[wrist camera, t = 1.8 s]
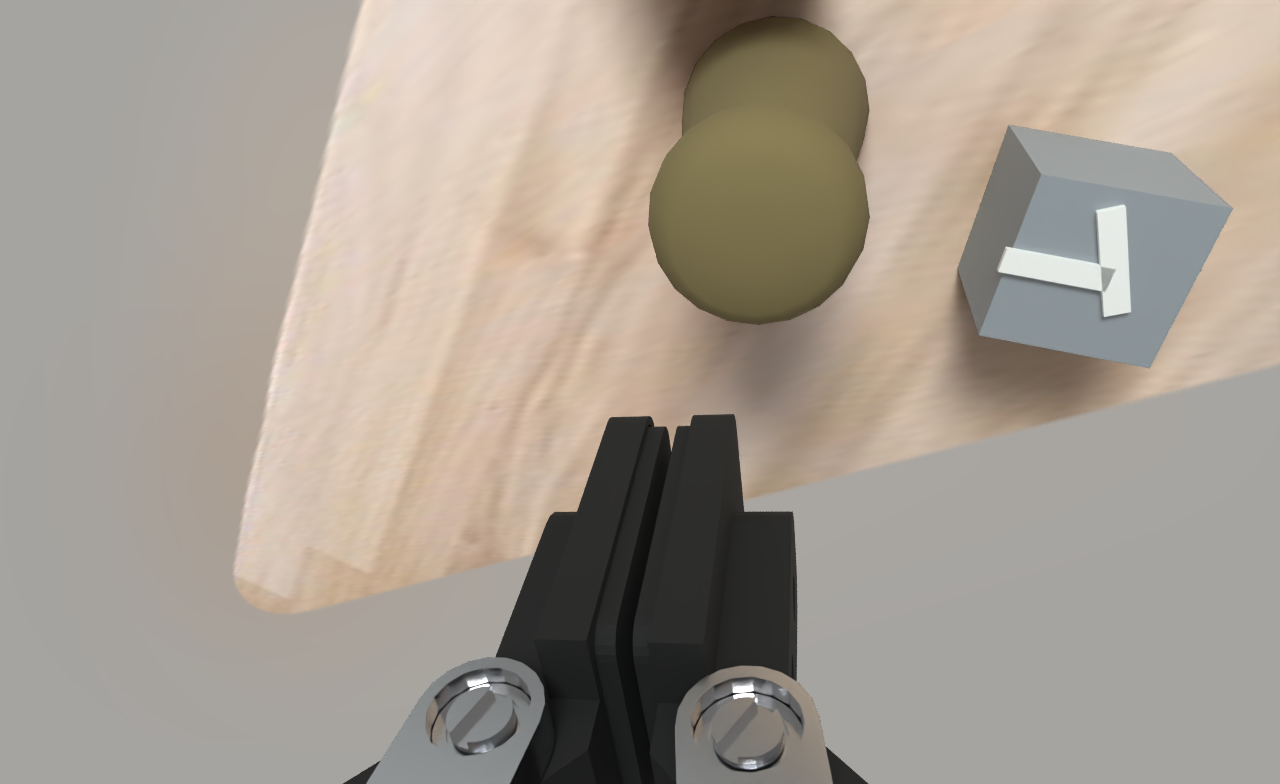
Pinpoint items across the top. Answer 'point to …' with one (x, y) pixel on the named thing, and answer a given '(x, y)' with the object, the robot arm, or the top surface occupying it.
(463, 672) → the robot arm
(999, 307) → the slate numeral block
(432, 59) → the top surface
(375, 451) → the top surface
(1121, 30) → the top surface
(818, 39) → the cork
